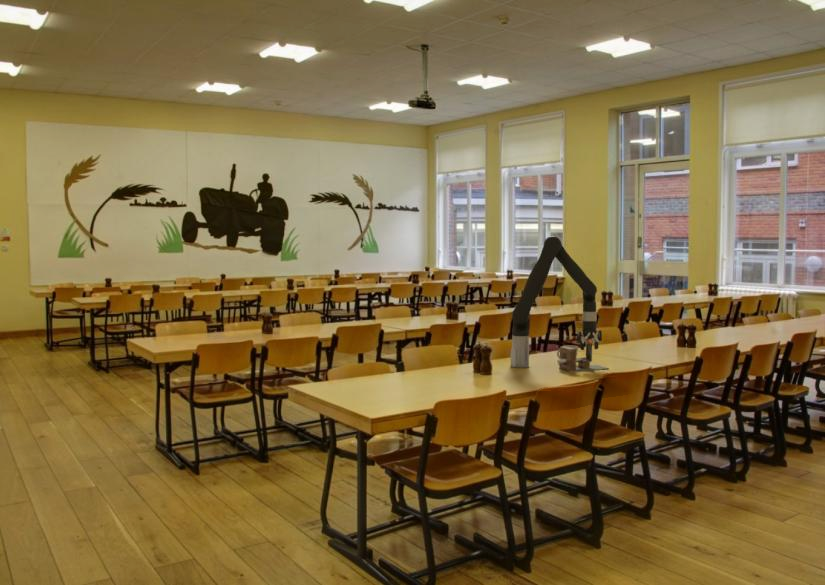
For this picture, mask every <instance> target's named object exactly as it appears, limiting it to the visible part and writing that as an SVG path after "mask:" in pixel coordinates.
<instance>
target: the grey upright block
mask: <svg viewBox="0 0 825 585" xmlns="http://www.w3.org/2000/svg"><path fill="white" fill-rule="evenodd" d="M563 346H564V347H563ZM563 346H560V347H559V349H560V352H559V356H560V359H566V363H560V364H559V367H560V370H563V371H566V370H567V371H566V372H569V371H572V370H576V366H577V362H576V358H577V357H576V349H574V348H571V347H567V346H565V345H563ZM562 368H563V369H562ZM569 373H570V372H569Z"/></svg>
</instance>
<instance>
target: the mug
mask: <svg viewBox="0 0 825 585" xmlns="http://www.w3.org/2000/svg"><path fill="white" fill-rule="evenodd" d="M564 346H567V347H571V348H574V349H576V358H578V357H577V356H578V350H579V349H578V348H579V346H578V345H573V344H571V345H569V344H567V345H566V344H565V345H562V347H564ZM556 356H557V358H558V359H560V348H559V349H557V351H556Z"/></svg>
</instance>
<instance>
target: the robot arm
mask: <svg viewBox="0 0 825 585" xmlns="http://www.w3.org/2000/svg"><path fill="white" fill-rule="evenodd" d="M555 258H556V259H557V260H558V262H559V263H560V265H561V266H562V267H563V268H564V271H566V273H567V274H568V276H570V278H571V279H572V280H573V282H574V283H576V284H577V285H578V287H579V288H580V289H581V291H582V317H581V318H582V323H581V324H582V325H581V326H582V331H580V330H577V331H576V342H578V343H579V349H580V350H581V351H585V343H586V339H590V338H591V339H592V340H593V341H594V344H593V345H594V346H593V347H594V350H598V349H599V344H600V342H602V341H603V337H602V335H603V334H602V332H603V331H602V330H601V329H597V328H598V327H597V319H598V318H597V302H596V294H597V293H598V292H597V291H598V289H597V286H596V285H595V284H594V282H593V281H592V280H591V279H590V278H589V277H588V275H587V274H586V273H585V272H584V270H583V269H582V268H581V267H580V265H578V264H577V262H576V261H575V260H574V259H573V258H572V257H571V256H570V255H569V253H568V252H567V250H566V249H565V247H564V245H563V244H562V241H561V239H560V238H559V237H558V236H556V235H549V236H548V237H547V238H545V240H544V242H543V246H542V249H541V253H540V255H539V257H538V259H537V261H536V262H535V264H534V266H533V267H532V269H531V271H530V272H529V275H528V277H527V280H526V282H525V284H524V287H523V291H522V294H521V296H520V298H519V301H518V302H517V304H516V306H515V307H514V309H513V311H512V312H511V318H512V320H513V321H512V331H511V333H512V334H511V338H512V339H511V341H512V342H511V343H512V344H511V346H512V347H511V349H510V366H511V367H514V368H519V369H520V368H529V366H530V330H531V329H530V327H531V310H532V308H533V307H532V306H533V304H534V303H535V300H537V298H538V296H539V294H540V293H541V291H542V289H543V287H544V286H545V283H546V281H547V278H548V276H549V273H550V269H551V268H552V267H551V266H552V263H553V262H554V259H555Z"/></svg>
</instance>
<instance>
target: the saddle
mask: <svg viewBox="0 0 825 585" xmlns="http://www.w3.org/2000/svg"><path fill="white" fill-rule="evenodd" d="M577 363H578V364H577V366H578V367H579V368H582V369H587V368H590V365H591V362H590V360H582V362H577Z"/></svg>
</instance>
